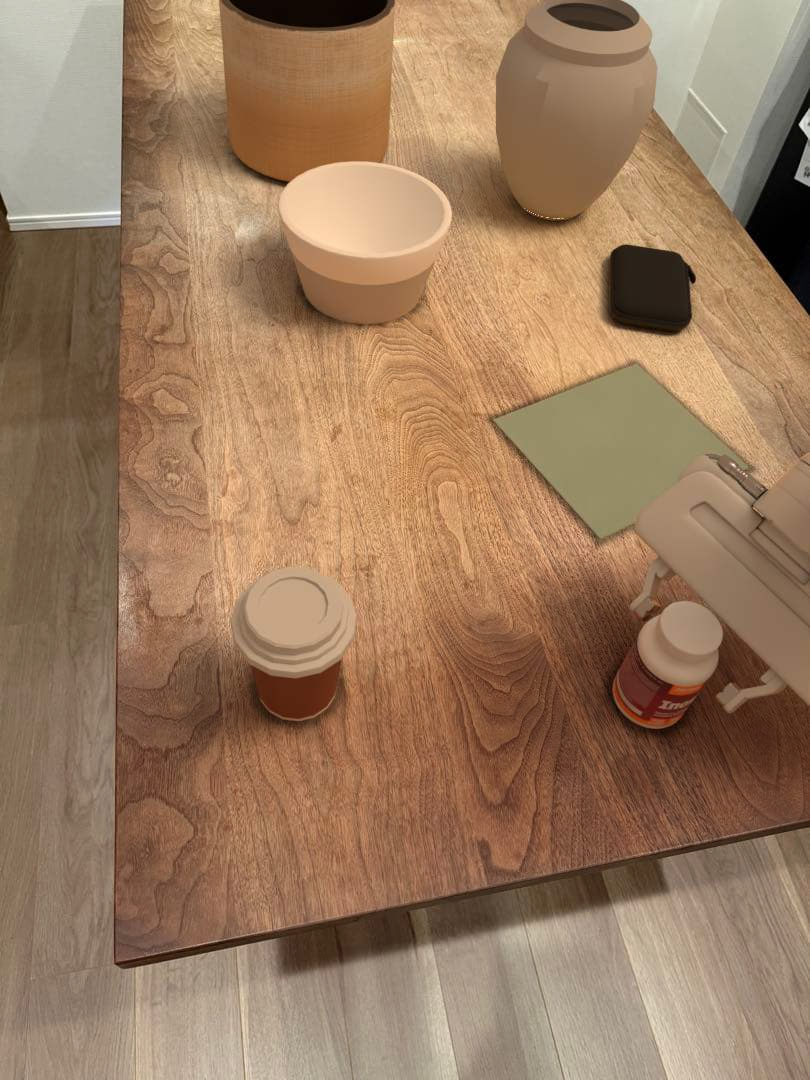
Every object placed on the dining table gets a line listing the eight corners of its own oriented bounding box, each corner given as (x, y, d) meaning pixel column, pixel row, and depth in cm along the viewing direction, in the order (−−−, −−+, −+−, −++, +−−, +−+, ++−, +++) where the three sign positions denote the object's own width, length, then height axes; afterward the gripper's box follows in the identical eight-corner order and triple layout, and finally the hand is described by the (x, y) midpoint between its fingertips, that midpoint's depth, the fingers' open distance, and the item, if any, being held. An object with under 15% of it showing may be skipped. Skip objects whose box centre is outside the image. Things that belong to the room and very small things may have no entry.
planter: (329, 98, 133) (330, -53, 117) (419, 164, 123) (433, 9, 107) (200, 134, 124) (182, -25, 108) (286, 209, 114) (280, 46, 98)
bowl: (248, 281, 104) (241, 197, 95) (365, 224, 113) (368, 143, 105) (359, 363, 96) (362, 280, 88) (475, 294, 106) (488, 213, 97)
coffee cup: (324, 623, 75) (324, 537, 66) (372, 709, 71) (380, 630, 61) (224, 663, 72) (209, 579, 63) (267, 756, 68) (258, 681, 58)
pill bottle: (649, 745, 70) (695, 678, 62) (595, 689, 73) (632, 618, 65) (699, 705, 73) (750, 636, 64) (645, 652, 76) (687, 579, 67)
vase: (484, 244, 112) (517, 42, 93) (472, 164, 124) (499, -29, 105) (632, 250, 114) (695, 53, 95) (606, 171, 126) (657, -18, 107)
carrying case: (696, 342, 103) (689, 269, 112) (705, 321, 101) (697, 249, 110) (606, 328, 103) (607, 257, 112) (612, 307, 101) (613, 236, 110)
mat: (635, 366, 100) (636, 363, 99) (748, 469, 91) (749, 467, 90) (492, 422, 92) (492, 419, 92) (599, 541, 83) (600, 538, 83)
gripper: (702, 430, 66) (575, 560, 70) (930, 626, 56) (768, 765, 60) (721, 451, 72) (603, 570, 75) (933, 633, 62) (784, 760, 65)
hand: (677, 658), depth 68 cm, fingers open, 8 cm apart
